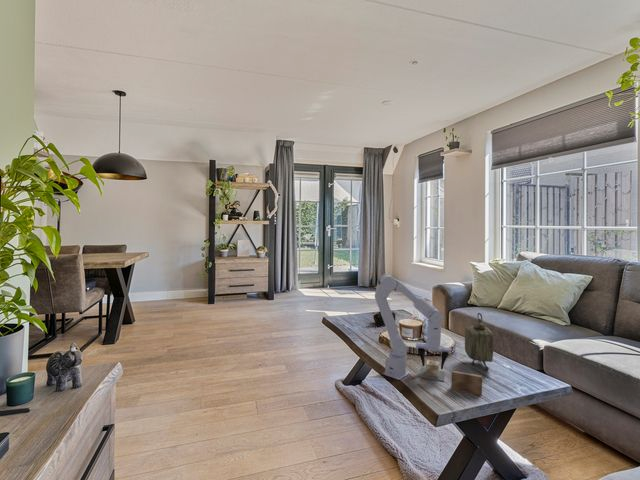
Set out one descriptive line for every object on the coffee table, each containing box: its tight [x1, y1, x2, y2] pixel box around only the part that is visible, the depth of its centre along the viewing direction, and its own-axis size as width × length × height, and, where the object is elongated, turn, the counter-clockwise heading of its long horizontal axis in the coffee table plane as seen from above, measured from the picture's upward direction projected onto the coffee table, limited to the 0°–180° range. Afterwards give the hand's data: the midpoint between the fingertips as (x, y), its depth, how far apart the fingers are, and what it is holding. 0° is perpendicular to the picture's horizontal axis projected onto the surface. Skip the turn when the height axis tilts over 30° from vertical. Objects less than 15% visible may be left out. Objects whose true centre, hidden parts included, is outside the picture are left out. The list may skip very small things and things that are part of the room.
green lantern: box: [464, 312, 494, 371], centre depth 155 cm, size 14×9×25 cm, turn 168°
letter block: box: [425, 359, 440, 377], centre depth 144 cm, size 5×5×5 cm
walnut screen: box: [450, 370, 483, 396], centre depth 129 cm, size 11×2×7 cm, turn 67°
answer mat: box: [419, 367, 446, 383], centre depth 144 cm, size 10×10×1 cm
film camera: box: [372, 311, 396, 327], centre depth 219 cm, size 18×12×10 cm
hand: (432, 366), depth 144 cm, fingers open, 7 cm apart
